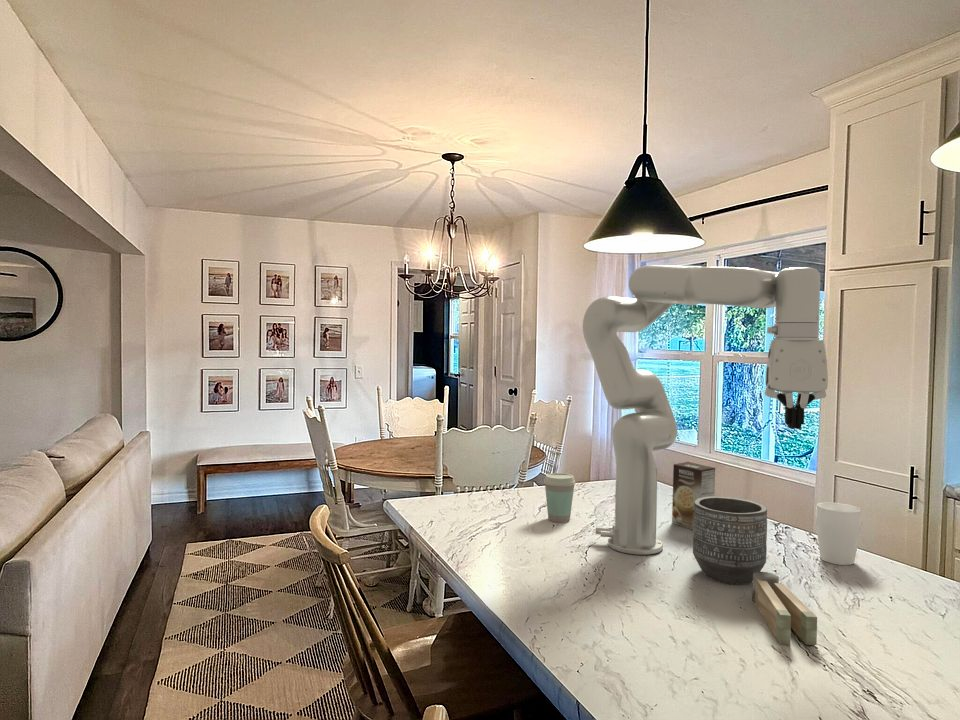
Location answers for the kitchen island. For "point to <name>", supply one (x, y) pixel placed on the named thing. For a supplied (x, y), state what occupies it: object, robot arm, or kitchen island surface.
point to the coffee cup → (559, 496)
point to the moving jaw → (798, 615)
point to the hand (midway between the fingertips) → (794, 428)
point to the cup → (838, 532)
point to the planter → (729, 538)
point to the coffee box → (690, 490)
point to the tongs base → (771, 606)
